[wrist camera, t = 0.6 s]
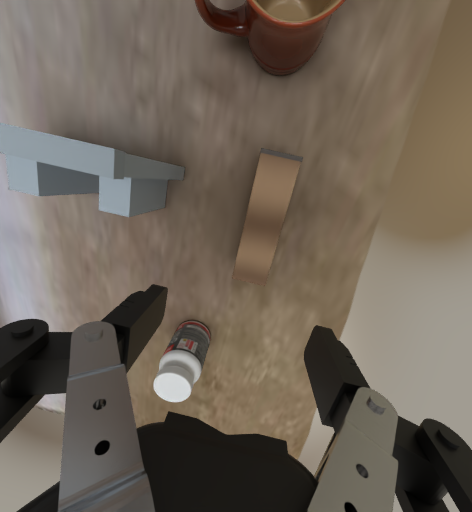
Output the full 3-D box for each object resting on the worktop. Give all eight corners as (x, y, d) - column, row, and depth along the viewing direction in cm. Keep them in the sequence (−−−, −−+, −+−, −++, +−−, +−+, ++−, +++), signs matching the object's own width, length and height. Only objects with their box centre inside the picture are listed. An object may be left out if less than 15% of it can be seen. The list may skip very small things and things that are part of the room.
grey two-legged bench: (61, 138, 28) (-140, 90, 14) (186, 166, 28) (114, 148, 14) (63, 184, 30) (-114, 184, 16) (180, 211, 30) (111, 236, 15)
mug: (326, -27, 22) (384, -199, 12) (325, 80, 24) (373, 10, 14) (206, 0, 23) (169, -135, 13) (218, 98, 26) (195, 46, 16)
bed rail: (260, 155, 27) (261, 147, 21) (292, 163, 27) (303, 157, 21) (235, 261, 32) (231, 278, 26) (263, 267, 31) (265, 286, 26)
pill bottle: (179, 315, 35) (151, 364, 26) (214, 323, 35) (198, 375, 26) (174, 344, 37) (147, 399, 28) (207, 352, 37) (191, 410, 27)
